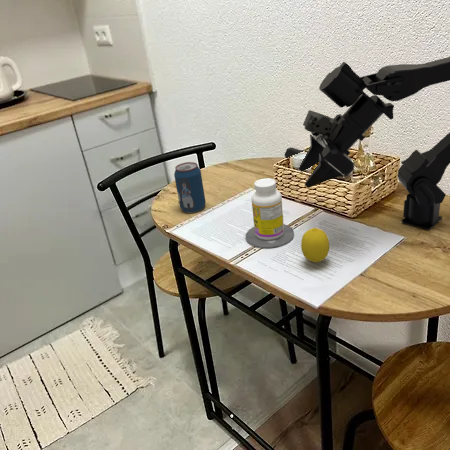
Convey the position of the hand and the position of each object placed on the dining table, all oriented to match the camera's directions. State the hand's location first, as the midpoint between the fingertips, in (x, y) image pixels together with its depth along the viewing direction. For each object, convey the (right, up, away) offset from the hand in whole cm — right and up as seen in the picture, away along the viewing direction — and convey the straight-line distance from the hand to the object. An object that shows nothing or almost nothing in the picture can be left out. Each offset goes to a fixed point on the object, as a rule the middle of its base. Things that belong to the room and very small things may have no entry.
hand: (303, 177), depth 101 cm
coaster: (-7, -13, +7) cm, 16 cm away
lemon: (+2, -18, -5) cm, 19 cm away
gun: (+8, +3, +33) cm, 35 cm away
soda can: (-25, -6, +25) cm, 36 cm away
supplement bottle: (-7, -12, +7) cm, 16 cm away
